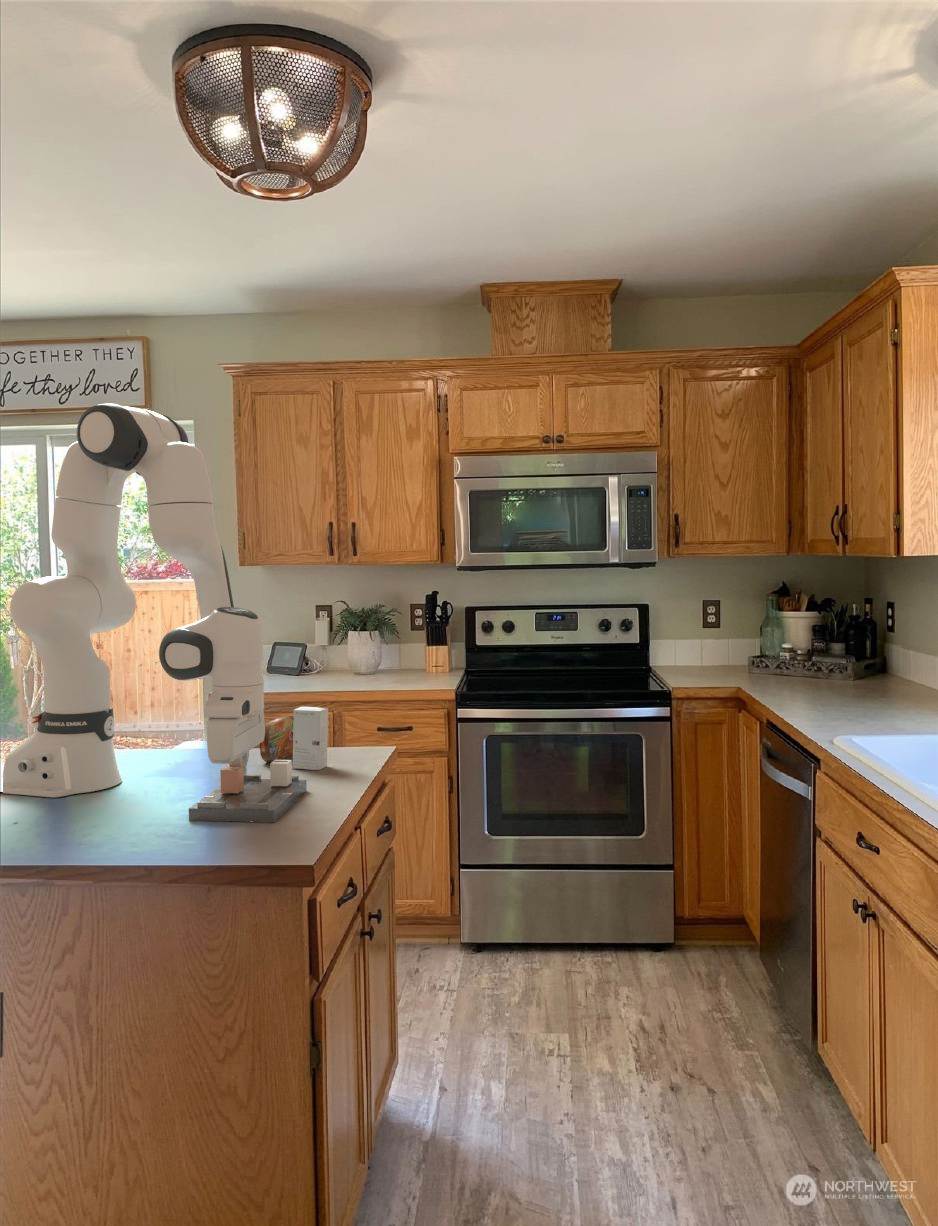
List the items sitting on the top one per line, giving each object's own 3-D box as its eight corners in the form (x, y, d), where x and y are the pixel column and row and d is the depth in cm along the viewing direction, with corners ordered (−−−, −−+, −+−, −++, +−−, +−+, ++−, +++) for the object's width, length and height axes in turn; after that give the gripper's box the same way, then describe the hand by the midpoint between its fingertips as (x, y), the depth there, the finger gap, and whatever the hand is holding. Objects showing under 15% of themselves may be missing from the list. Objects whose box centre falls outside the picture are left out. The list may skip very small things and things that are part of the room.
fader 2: (270, 785, 158) (270, 762, 158) (275, 781, 161) (275, 759, 161) (287, 786, 158) (286, 763, 157) (291, 782, 161) (291, 759, 160)
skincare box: (291, 769, 180) (291, 709, 180) (301, 764, 185) (300, 705, 184) (320, 770, 179) (319, 710, 178) (329, 765, 183) (328, 707, 182)
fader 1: (220, 792, 153) (220, 769, 153) (226, 788, 156) (226, 765, 156) (237, 793, 153) (237, 769, 152) (243, 788, 156) (243, 765, 155)
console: (188, 820, 144) (188, 803, 144) (231, 789, 164) (231, 773, 164) (274, 822, 143) (273, 805, 143) (306, 790, 163) (306, 775, 163)
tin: (271, 766, 183) (270, 725, 182) (256, 765, 183) (256, 725, 183) (299, 751, 197) (299, 713, 197) (286, 750, 198) (285, 712, 198)
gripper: (239, 691, 167) (240, 764, 168) (199, 709, 147) (200, 792, 148) (272, 691, 167) (273, 765, 168) (236, 709, 147) (238, 793, 147)
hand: (239, 778), depth 158 cm, fingers closed
